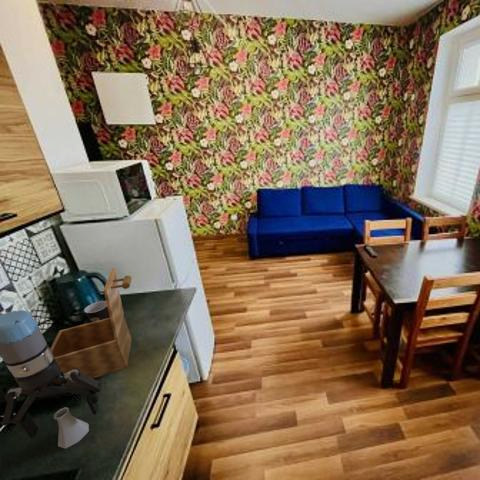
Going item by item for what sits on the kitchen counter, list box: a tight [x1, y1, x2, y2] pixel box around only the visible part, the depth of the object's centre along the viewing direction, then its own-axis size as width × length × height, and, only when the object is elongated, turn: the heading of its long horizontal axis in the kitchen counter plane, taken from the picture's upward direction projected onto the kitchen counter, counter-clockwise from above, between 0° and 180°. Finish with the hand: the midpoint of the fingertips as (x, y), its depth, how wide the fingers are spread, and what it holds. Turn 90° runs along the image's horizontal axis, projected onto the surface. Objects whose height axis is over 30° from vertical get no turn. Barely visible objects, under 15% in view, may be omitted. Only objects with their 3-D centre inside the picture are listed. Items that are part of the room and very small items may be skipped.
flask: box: [53, 406, 90, 449], centre depth 77 cm, size 7×7×10 cm
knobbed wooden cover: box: [103, 267, 132, 340], centre depth 100 cm, size 21×17×6 cm
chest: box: [49, 315, 132, 385], centre depth 101 cm, size 20×17×13 cm
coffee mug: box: [83, 300, 110, 323], centre depth 121 cm, size 12×9×10 cm
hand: (66, 421), depth 76 cm, fingers open, 13 cm apart
